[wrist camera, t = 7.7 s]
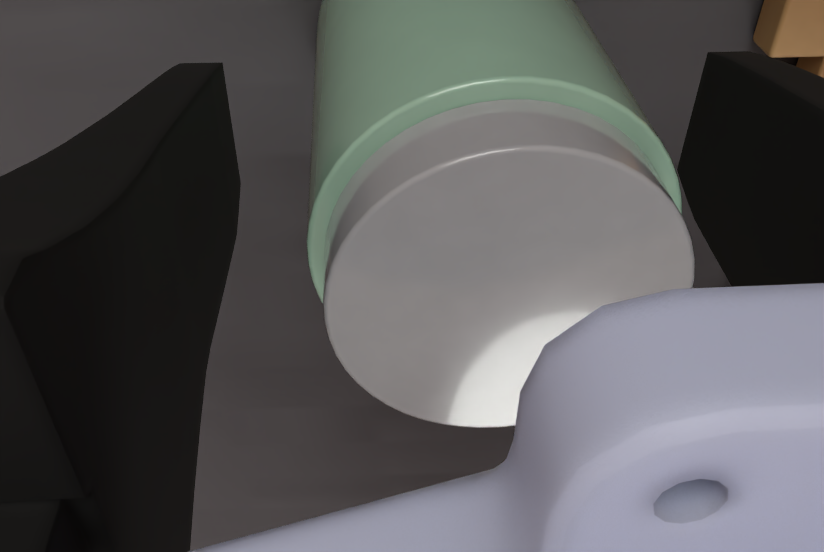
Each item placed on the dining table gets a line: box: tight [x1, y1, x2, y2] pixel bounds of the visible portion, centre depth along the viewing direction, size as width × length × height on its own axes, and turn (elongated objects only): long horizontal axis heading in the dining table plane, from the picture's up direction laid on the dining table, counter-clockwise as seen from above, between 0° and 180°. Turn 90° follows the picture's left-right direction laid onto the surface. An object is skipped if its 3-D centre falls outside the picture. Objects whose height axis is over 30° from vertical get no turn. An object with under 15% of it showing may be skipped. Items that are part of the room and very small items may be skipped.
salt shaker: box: [307, 0, 695, 428], centre depth 11 cm, size 4×4×7 cm
